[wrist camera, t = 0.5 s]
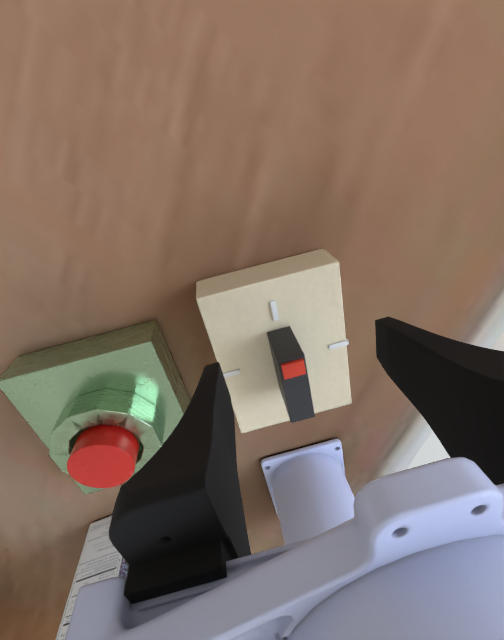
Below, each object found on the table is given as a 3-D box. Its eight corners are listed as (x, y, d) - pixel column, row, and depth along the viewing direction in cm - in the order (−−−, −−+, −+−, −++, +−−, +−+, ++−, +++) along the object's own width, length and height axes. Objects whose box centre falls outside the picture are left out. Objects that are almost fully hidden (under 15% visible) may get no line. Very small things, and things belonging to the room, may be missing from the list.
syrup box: (167, 531, 35) (149, 752, 22) (117, 549, 35) (70, 778, 22) (141, 502, 32) (103, 736, 19) (86, 522, 32) (13, 766, 20)
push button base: (204, 433, 29) (205, 484, 24) (94, 463, 29) (76, 520, 24) (156, 319, 23) (146, 359, 19) (17, 355, 23) (-25, 405, 18)
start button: (148, 456, 23) (144, 479, 21) (92, 471, 23) (84, 495, 21) (125, 416, 21) (119, 438, 19) (64, 433, 21) (53, 455, 19)
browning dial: (300, 382, 24) (316, 419, 21) (279, 388, 24) (292, 426, 20) (289, 325, 21) (305, 356, 18) (266, 331, 21) (278, 364, 18)
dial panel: (338, 379, 28) (354, 404, 25) (236, 407, 28) (240, 435, 25) (324, 247, 22) (342, 261, 20) (194, 281, 22) (193, 300, 19)
